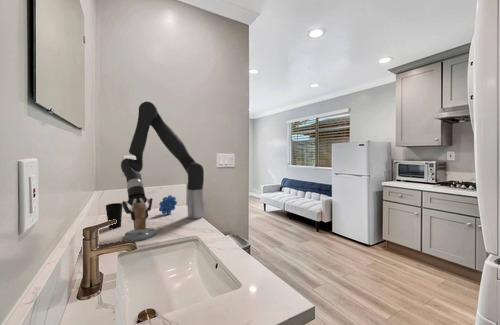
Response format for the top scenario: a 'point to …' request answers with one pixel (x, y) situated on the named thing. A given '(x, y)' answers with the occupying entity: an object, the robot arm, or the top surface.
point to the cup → (114, 214)
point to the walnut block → (139, 216)
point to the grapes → (167, 204)
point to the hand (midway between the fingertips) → (140, 218)
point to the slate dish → (140, 234)
